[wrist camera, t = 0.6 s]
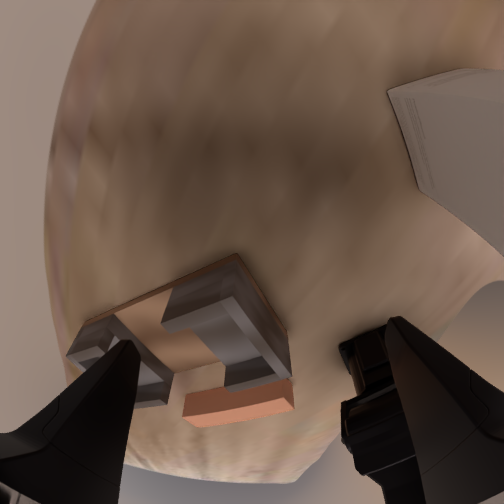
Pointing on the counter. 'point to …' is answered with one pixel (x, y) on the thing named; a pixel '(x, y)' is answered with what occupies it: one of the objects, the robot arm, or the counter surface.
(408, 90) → the supplement box
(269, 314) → the bracket stand
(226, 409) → the rail
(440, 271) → the counter surface
